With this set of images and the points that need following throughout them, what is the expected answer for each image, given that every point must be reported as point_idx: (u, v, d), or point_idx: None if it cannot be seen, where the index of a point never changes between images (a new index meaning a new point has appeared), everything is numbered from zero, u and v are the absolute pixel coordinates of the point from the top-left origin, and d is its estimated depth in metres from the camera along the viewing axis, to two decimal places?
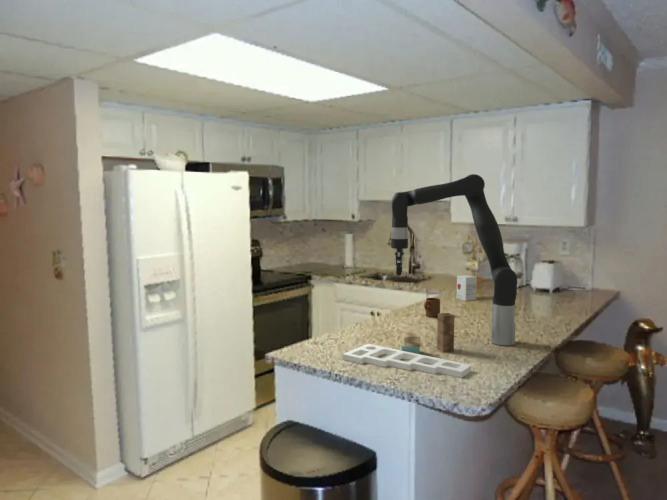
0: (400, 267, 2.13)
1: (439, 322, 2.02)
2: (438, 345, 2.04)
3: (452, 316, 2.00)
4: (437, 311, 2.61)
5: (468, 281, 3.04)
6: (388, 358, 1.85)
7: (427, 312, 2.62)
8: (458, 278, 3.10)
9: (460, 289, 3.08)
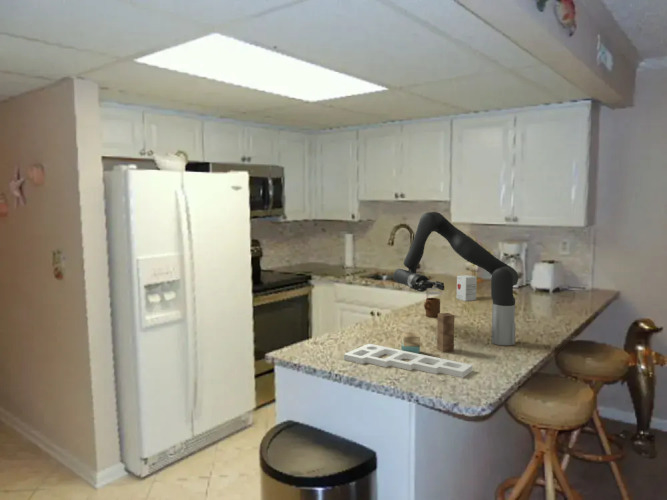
0: (421, 285, 2.13)
1: (439, 322, 2.02)
2: (438, 345, 2.04)
3: (452, 316, 2.00)
4: (437, 311, 2.61)
5: (468, 281, 3.04)
6: (389, 358, 1.85)
7: (427, 312, 2.62)
8: (458, 278, 3.10)
9: (460, 289, 3.08)
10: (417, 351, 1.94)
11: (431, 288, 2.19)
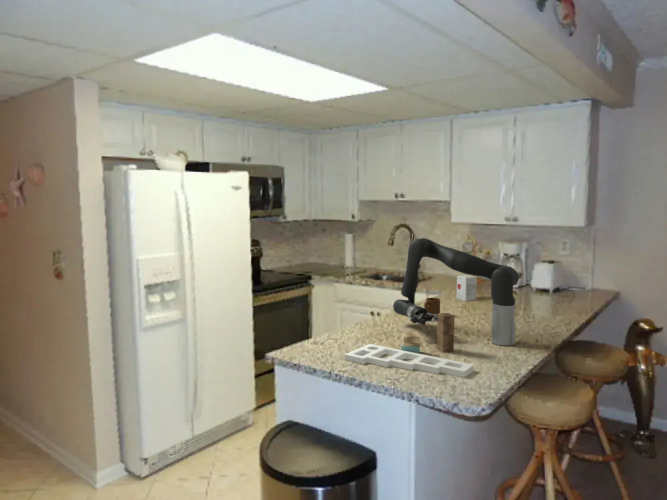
0: (420, 319, 2.15)
1: (439, 322, 2.02)
2: (438, 345, 2.04)
3: (452, 316, 2.00)
4: (437, 311, 2.61)
5: (468, 281, 3.04)
6: (390, 358, 1.85)
7: None
8: (458, 278, 3.10)
9: (460, 289, 3.08)
10: (417, 351, 1.94)
11: (430, 321, 2.20)
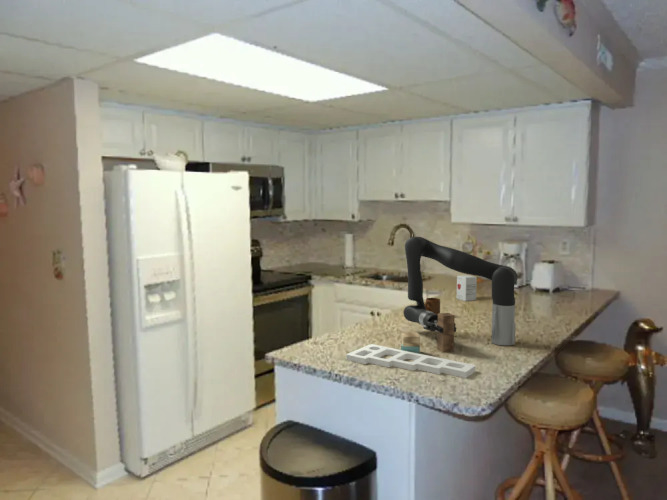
0: (438, 327, 2.02)
1: (439, 322, 2.02)
2: (438, 345, 2.04)
3: (452, 316, 2.00)
4: (437, 311, 2.61)
5: (468, 281, 3.04)
6: (392, 358, 1.85)
7: None
8: (458, 278, 3.10)
9: (460, 289, 3.08)
10: (417, 351, 1.94)
11: None
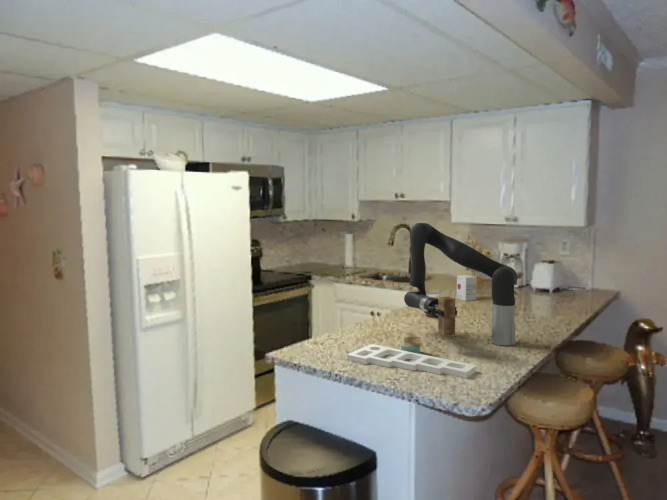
0: (438, 310, 2.01)
1: (440, 306, 2.01)
2: (439, 329, 2.03)
3: (453, 299, 1.99)
4: None
5: (468, 281, 3.04)
6: (392, 358, 1.84)
7: None
8: (458, 278, 3.10)
9: (460, 289, 3.08)
10: (417, 351, 1.94)
11: None
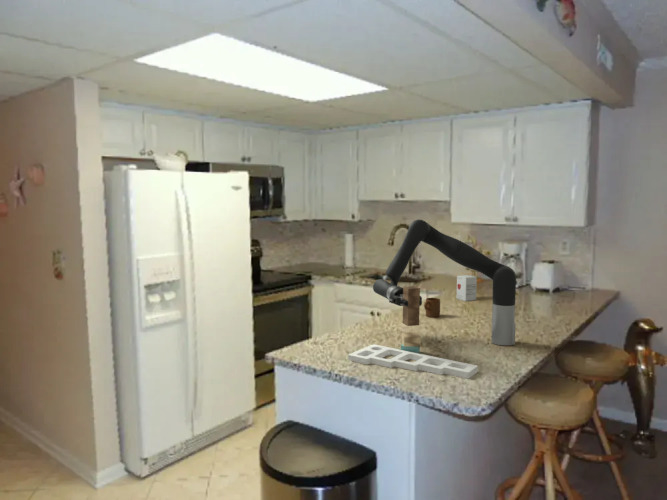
0: (403, 300, 1.97)
1: (404, 295, 1.97)
2: (403, 319, 1.98)
3: (417, 289, 1.94)
4: (437, 311, 2.61)
5: (468, 281, 3.04)
6: (394, 359, 1.84)
7: (427, 312, 2.62)
8: (458, 278, 3.10)
9: (460, 289, 3.08)
10: (416, 351, 1.94)
11: None
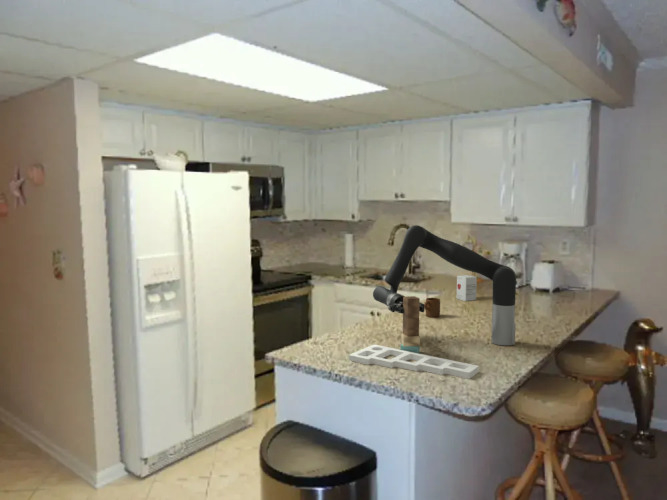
0: (399, 307, 1.97)
1: (404, 305, 1.97)
2: (403, 329, 1.99)
3: (417, 299, 1.95)
4: (437, 311, 2.61)
5: (468, 281, 3.04)
6: (395, 359, 1.84)
7: (427, 312, 2.62)
8: (458, 278, 3.10)
9: (460, 289, 3.08)
10: (416, 351, 1.95)
11: None
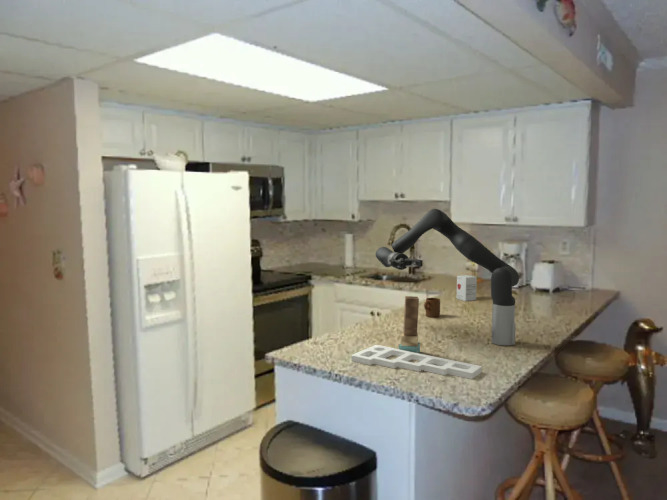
0: (399, 262, 2.15)
1: (405, 305, 1.98)
2: (403, 328, 2.00)
3: (416, 299, 1.94)
4: (437, 311, 2.61)
5: (468, 281, 3.04)
6: (397, 359, 1.84)
7: (427, 312, 2.62)
8: (458, 278, 3.10)
9: (460, 289, 3.08)
10: (414, 351, 1.95)
11: (410, 265, 2.20)
